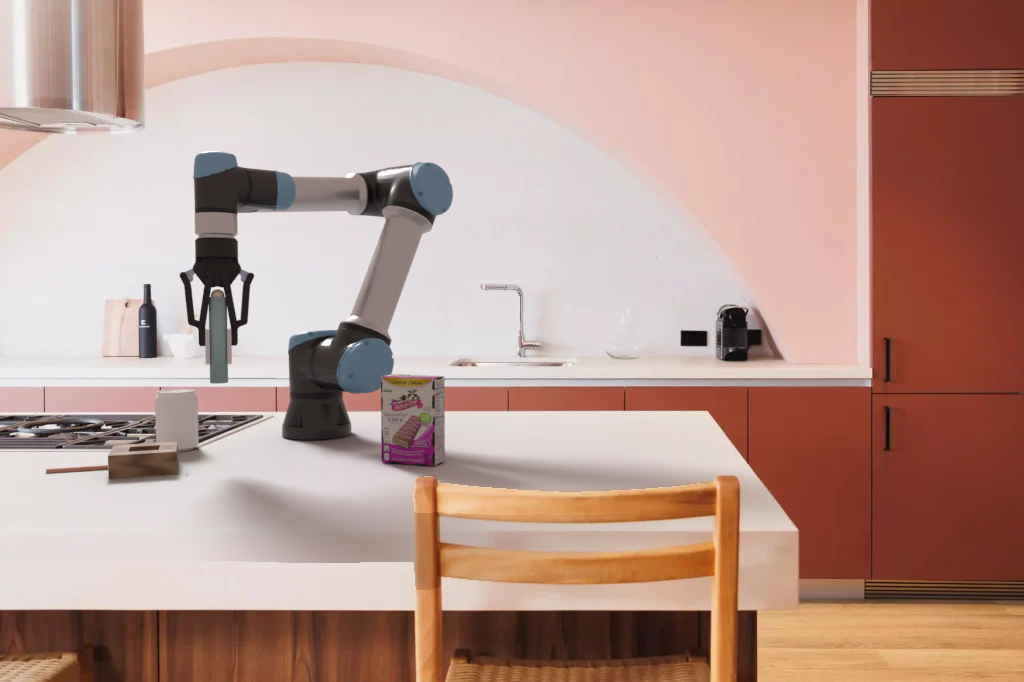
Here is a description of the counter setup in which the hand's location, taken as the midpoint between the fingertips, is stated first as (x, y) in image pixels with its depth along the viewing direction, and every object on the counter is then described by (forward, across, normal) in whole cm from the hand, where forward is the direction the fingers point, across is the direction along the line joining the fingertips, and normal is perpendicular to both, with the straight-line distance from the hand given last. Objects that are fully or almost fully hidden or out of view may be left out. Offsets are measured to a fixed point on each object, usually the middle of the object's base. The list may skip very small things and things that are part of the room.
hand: (218, 363), depth 166 cm
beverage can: (+19, +8, -18) cm, 28 cm away
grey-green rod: (+4, 0, 0) cm, 4 cm away
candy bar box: (+19, -34, +13) cm, 41 cm away
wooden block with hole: (+19, +13, +3) cm, 23 cm away
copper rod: (+19, +24, -2) cm, 31 cm away
